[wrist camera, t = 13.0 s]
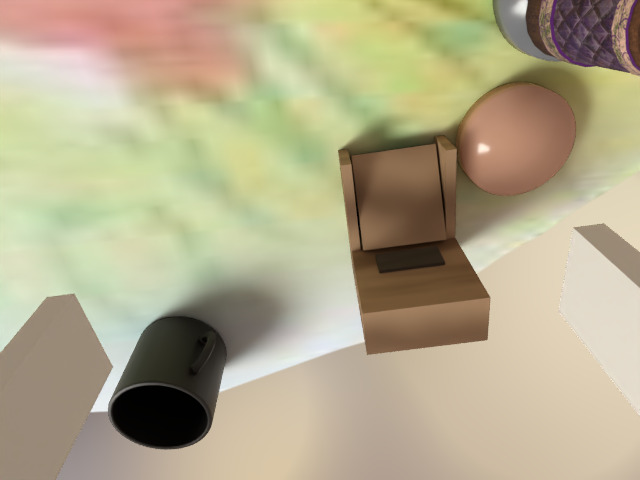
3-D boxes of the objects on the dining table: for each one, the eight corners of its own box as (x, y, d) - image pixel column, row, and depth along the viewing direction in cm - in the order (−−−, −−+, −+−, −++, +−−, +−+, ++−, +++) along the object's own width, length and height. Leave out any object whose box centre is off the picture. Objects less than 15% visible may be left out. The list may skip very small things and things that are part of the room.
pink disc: (456, 90, 35) (464, 96, 34) (570, 74, 35) (584, 78, 33) (454, 192, 40) (461, 202, 38) (555, 179, 39) (567, 187, 38)
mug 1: (258, 330, 47) (248, 398, 39) (196, 390, 52) (177, 462, 44) (182, 284, 44) (156, 349, 36) (123, 352, 48) (88, 423, 41)
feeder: (338, 150, 37) (350, 213, 27) (444, 135, 37) (497, 193, 27) (352, 266, 43) (367, 354, 33) (443, 254, 43) (487, 340, 33)
